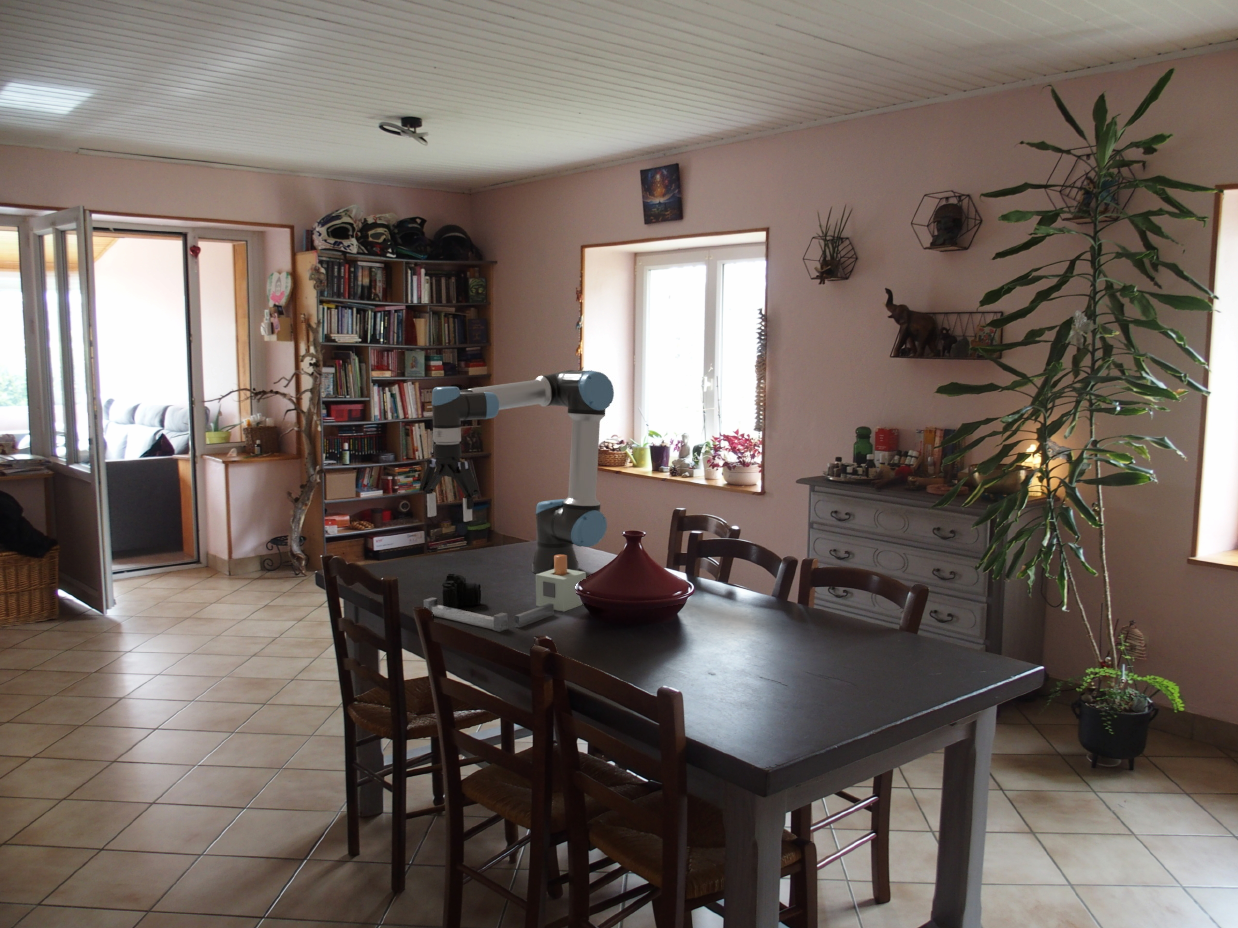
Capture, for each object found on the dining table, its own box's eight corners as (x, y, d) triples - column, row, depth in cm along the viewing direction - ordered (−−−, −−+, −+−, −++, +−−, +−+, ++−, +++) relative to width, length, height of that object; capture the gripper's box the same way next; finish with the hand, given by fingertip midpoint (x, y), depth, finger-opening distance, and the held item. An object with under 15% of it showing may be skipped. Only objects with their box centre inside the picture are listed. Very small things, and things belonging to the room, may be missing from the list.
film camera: (474, 613, 259) (473, 581, 258) (439, 613, 259) (438, 581, 258) (483, 598, 274) (483, 568, 273) (450, 598, 274) (449, 568, 273)
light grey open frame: (474, 598, 274) (474, 584, 274) (553, 614, 257) (553, 600, 256) (423, 614, 258) (423, 599, 258) (504, 633, 241) (504, 617, 241)
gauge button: (559, 574, 268) (559, 553, 267) (569, 576, 266) (569, 555, 265) (551, 577, 265) (551, 556, 265) (561, 579, 263) (561, 557, 262)
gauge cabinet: (558, 597, 274) (558, 567, 273) (586, 603, 268) (585, 572, 267) (535, 606, 265) (534, 574, 264) (562, 611, 260) (562, 579, 258)
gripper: (405, 441, 265) (408, 516, 268) (471, 446, 251) (474, 525, 254) (424, 439, 271) (427, 512, 274) (490, 443, 258) (492, 520, 260)
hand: (449, 518), depth 264 cm, fingers open, 13 cm apart
